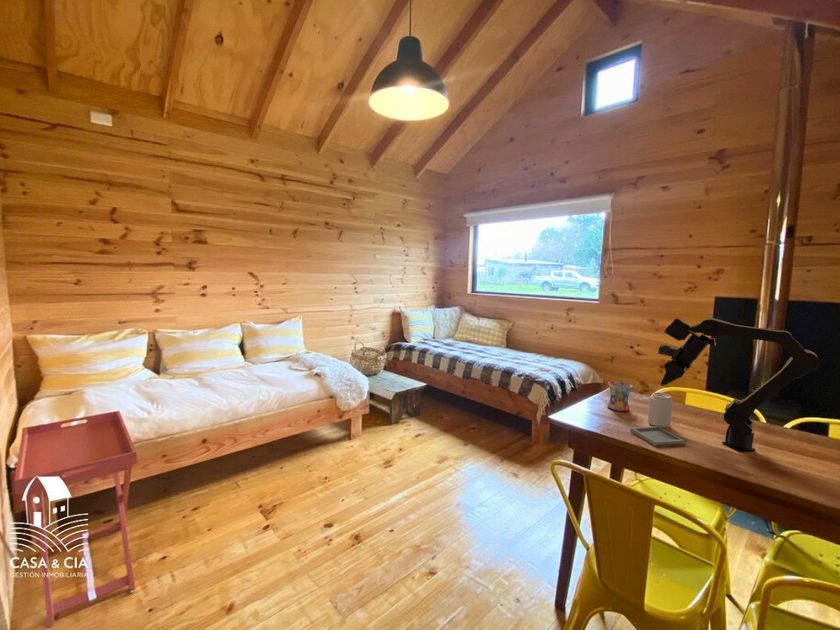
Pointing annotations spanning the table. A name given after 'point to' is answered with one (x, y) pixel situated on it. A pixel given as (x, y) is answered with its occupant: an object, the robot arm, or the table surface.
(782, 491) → the table surface
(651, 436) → the slate dish
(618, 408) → the mug
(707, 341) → the robot arm
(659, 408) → the can
